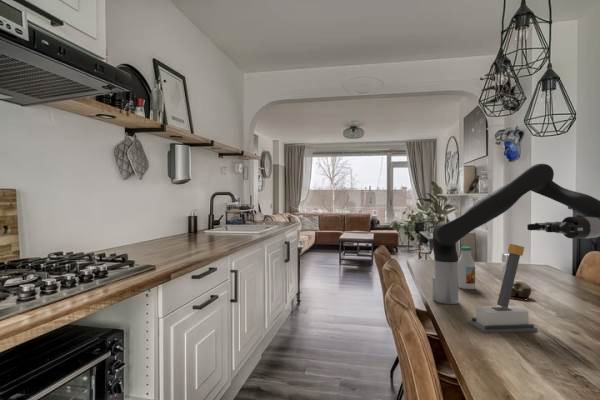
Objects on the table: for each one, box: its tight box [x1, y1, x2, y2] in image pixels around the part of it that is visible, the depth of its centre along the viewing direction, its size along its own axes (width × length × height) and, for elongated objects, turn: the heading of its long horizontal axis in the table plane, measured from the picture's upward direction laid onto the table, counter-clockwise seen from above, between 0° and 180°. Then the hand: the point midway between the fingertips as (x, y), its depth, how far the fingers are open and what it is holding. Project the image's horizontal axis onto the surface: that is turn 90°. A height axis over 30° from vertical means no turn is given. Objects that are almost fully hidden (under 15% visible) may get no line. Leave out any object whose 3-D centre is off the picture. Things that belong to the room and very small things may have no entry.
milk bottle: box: [458, 246, 476, 290], centre depth 168 cm, size 8×8×20 cm
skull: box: [510, 279, 532, 301], centre depth 151 cm, size 12×10×10 cm
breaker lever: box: [496, 243, 525, 308], centre depth 115 cm, size 3×3×21 cm
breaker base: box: [468, 305, 538, 334], centre depth 115 cm, size 18×9×6 cm, turn 94°
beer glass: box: [501, 252, 517, 280], centre depth 176 cm, size 7×7×15 cm
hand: (537, 227), depth 117 cm, fingers open, 8 cm apart
